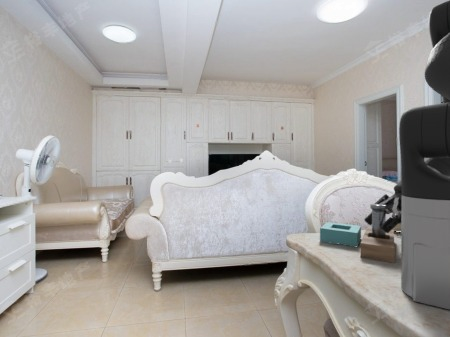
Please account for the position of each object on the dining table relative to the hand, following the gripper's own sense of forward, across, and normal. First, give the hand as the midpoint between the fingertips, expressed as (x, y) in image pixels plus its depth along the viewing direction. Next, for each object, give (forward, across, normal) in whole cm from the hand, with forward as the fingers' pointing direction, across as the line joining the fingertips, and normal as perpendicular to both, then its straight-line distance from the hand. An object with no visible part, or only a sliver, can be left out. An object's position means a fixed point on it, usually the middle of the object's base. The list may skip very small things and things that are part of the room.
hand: (374, 226), depth 68 cm
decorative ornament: (-8, -19, +17) cm, 27 cm away
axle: (+4, 0, +5) cm, 6 cm away
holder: (+9, -8, 0) cm, 12 cm away
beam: (+4, 0, +5) cm, 6 cm away
